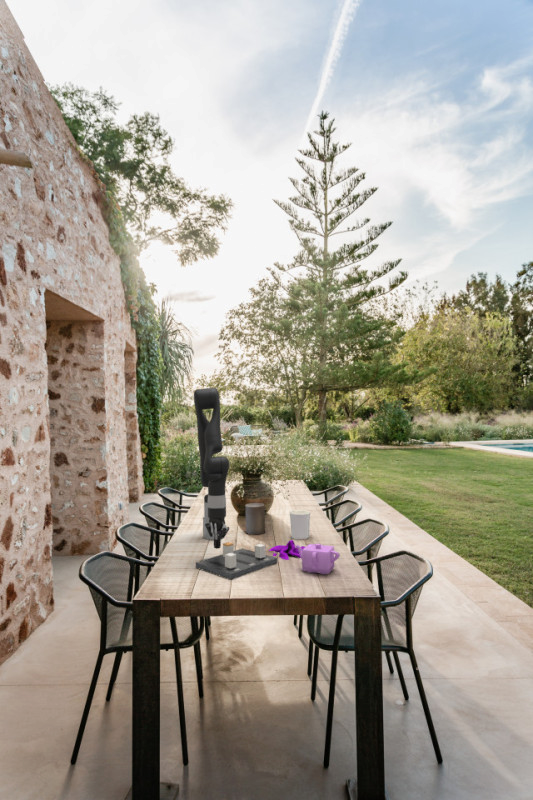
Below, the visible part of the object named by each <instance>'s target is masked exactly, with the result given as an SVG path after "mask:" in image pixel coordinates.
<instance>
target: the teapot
mask: <svg viewBox="0 0 533 800" xmlns="http://www.w3.org/2000/svg"><path fill="white" fill-rule="evenodd" d="M294 546H295V547H297V548H298V551H299V554H300V557H301V559H300V560H301V571H303V572H307V573H308V574H313V573H316V574H317V573H318V574H320V575H322V576H323V575H329V574H330V573H331V572H332V570H333V569H335V562H336V561H337V560H338V559H339V558H340V553H339V552H338V551H336V550H335V546H333V545H325V544H324V545H323V544H321V543H313V544H312V543H309V544H307V545H306V546H304V547H305V548H304V549H303V550H302V548H301V546H300V545H299V544H295V545H294Z"/></svg>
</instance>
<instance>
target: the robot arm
mask: <svg viewBox="0 0 533 800" xmlns="http://www.w3.org/2000/svg"><path fill="white" fill-rule="evenodd" d="M219 393H220V392H219V390H218V389H217V388H216V387H206V388H199V389H195V390H194V392H193V405H194V410H195V411H194V412H195V416H196V425H197V442H198V450H199V458H200V459H199V462H200V463H199V464H200V483H201V485H202V487H204V488H207V494H206V495H204V496H203V509H204V510H203V512H204V513H203V515H204V516H203V517H202V537H203V538H204V539H205V540H209V541H210V540H211V541H213V548H214V549H216V550H218V549H220V548H221V545H222V544H221V542H222V540H221V539H224V538H225V537H226V536H227V534H228V532H229V531H230V526H227V525H226V520H225V519H226V517H227V497H226V481H227V477H228V473H229V470H230V460H229V458H227V456H214V455H215V454H216V455H217V454H219V453H221V452H222V451H223V450H224V449H223V448H224V447H223V446H224V445H223V441H222V433H221V399H220V394H219ZM206 410H212V411H213V412H212V416H211V417H210V420H209V419H208V418H207V417H206V415H205V413H204V411H206Z"/></svg>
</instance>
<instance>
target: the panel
mask: <svg viewBox="0 0 533 800" xmlns="http://www.w3.org/2000/svg"><path fill="white" fill-rule="evenodd" d="M234 554H236V567H234V568H231V569H230V568H227V567H225V557H223V553H222V554H219V555H216V556H212V557H209V558H207V559H204V560H202V559H201V561H200V560H199V561H196V562H195V568H196V567H197V568H196V569H198V568H200V569H199V570H201V569H203V570H202V571H204V570H205V571H204V572H207V571H208V572H207V573H210V572H211V573H210V574H213V573H214V574H213V575H216V574H217V576H219V575H220V576H219V577H221V578H225V579H227V578H228V580H230V579H231V580H235V579H236V578H239V577H242V576H245V575H247V574H250V573H254V572H256V571H259V570H262V569H264V568H267V567H270V566H273V565H275V564H277V563H278V557H277V556H275V557H274V556H273V555H268V554H266V557H263V558H257V557H255V550H254V551H252V550H250V549H247V548H238V549H236V550H235V549H234Z"/></svg>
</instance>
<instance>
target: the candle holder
mask: <svg viewBox="0 0 533 800" xmlns="http://www.w3.org/2000/svg"><path fill="white" fill-rule="evenodd" d="M289 519H290V521H289V523H290V535H291V539H293V538H294V540H297V539H304V540H308V539H309V538H310V527H311V525H310V523H311V521H310V520H311V511H309V510H305V509H295V510H291V511H289ZM307 538H308V539H307Z"/></svg>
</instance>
